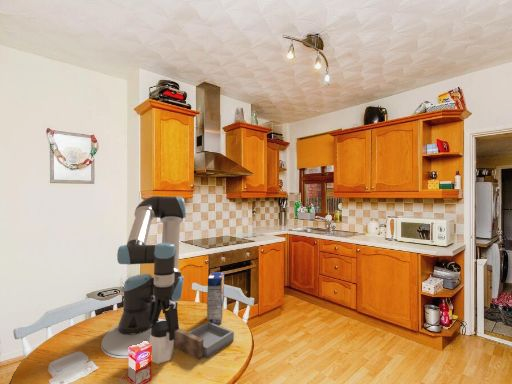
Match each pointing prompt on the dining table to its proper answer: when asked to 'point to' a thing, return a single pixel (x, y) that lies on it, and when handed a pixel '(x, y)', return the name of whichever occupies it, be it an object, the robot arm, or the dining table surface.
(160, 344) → the jar
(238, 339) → the dining table surface
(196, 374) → the dining table surface
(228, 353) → the dining table surface
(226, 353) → the dining table surface
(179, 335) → the door board
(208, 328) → the tray
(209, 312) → the beverage box
